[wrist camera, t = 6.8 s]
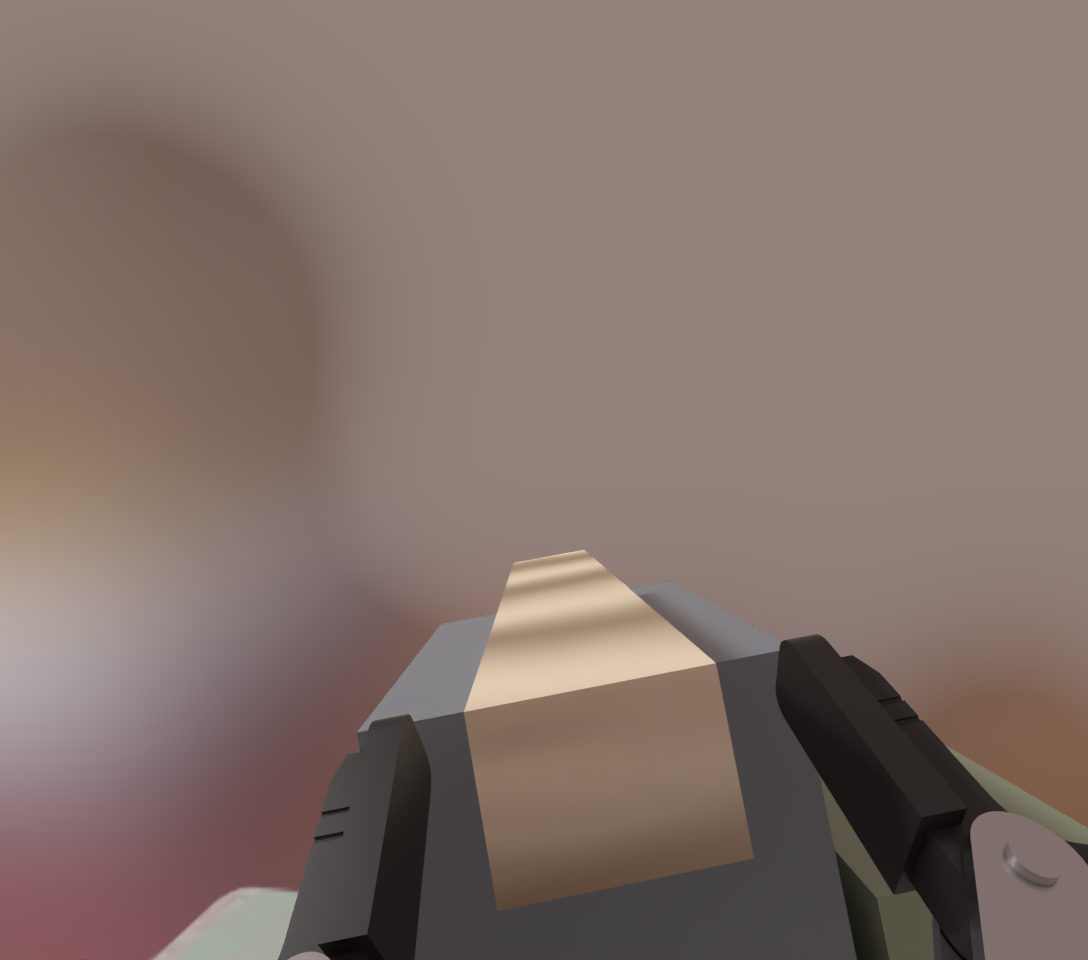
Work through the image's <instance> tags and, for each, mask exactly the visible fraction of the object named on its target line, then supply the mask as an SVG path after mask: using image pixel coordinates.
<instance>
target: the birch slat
mask: <svg viewBox="0 0 1088 960" xmlns="http://www.w3.org/2000/svg"><path fill="white" fill-rule="evenodd" d="M464 716H465V722H466V728H467V734H468V740H469V746H470V752H471V758H472V763H473V769H474V775H475V781H476V787H477V793H478V799H479V805H480V811H481V817H482V822H483V828H484V834H485V840H486V846H487V852H488V858H489V864H490V870H491V876H492V881H493V887H494V893H495V899H496V905H497V911H502V910H506V909H511V908H516V907H521V906H526V905H531V904H535V903H540V902H545V901H550V900H555V899H560V898H564V897H569V896H574V895H579V894H584V893H589V892H593V891H598V890H603V889H608V888H613V887H617V886H622V885H627V884H632V883H637V882H642V881H646V880H651V879H656V878H661V877H666V876H671V875H675V874H680V873H685V872H690V871H695V870H700V869H704V868H709V867H714V866H719V865H724V864H729V863H733V862H738V861H743V860H748V859H753V858H754V855H753V850H752V845H751V840H750V835H749V830H748V824H747V819H746V814H745V809H744V804H743V799H742V794H741V789H740V783H739V778H738V773H737V768H736V763H735V758H734V753H733V747H732V742H731V737H730V732H729V727H728V722H727V717H726V712H725V706H724V701H723V696H722V691H721V686H720V681H719V676H718V670H717V665H716V663H715V662H714V661H713V660H712V659H711V658H710V657H708V656H707V655H706V654H705V653H704V652H703V651H701V650H700V649H699V648H698V647H697V646H696V645H694V644H693V643H692V642H691V641H690V640H689V639H687V638H686V637H685V636H684V635H683V634H682V633H680V632H679V631H678V630H677V629H676V628H675V627H673V626H672V625H671V624H670V623H669V622H668V621H666V620H665V619H664V618H663V617H662V616H661V615H659V614H658V613H657V612H656V611H655V610H654V609H652V608H651V607H650V606H649V605H648V604H647V603H645V602H644V601H643V600H642V599H641V598H640V597H638V596H637V595H636V594H635V593H634V592H633V591H631V590H630V589H629V588H628V587H627V586H626V585H624V584H623V583H622V582H621V581H619V579H617V578H616V577H615V576H614V575H613V574H611V573H610V572H609V571H608V570H607V569H606V568H605V567H603V566H602V565H601V564H600V563H599V562H597V561H596V560H595V559H594V558H593V557H592V556H591V555H589V554H588V553H587V552H586V551H585V550H581V551H576V552H571V553H564V554H559V555H554V556H549V557H543V558H538V559H532V560H527V561H521V562H516V563H514V564H513V567H512V570H511V573H510V576H509V579H508V582H507V585H506V588H505V591H504V594H503V597H502V600H501V603H500V606H499V609H498V612H497V615H496V618H495V621H494V624H493V627H492V630H491V632H490V635H489V638H488V641H487V644H486V647H485V650H484V653H483V656H482V659H481V662H480V665H479V668H478V671H477V674H476V677H475V680H474V683H473V686H472V689H471V692H470V695H469V698H468V701H467V704H466V707H465V710H464Z"/></svg>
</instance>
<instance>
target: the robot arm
mask: <svg viewBox="0 0 1088 960" xmlns="http://www.w3.org/2000/svg"><path fill="white" fill-rule="evenodd" d="M775 690H776V697H777V701H778V705H779V708H780V710H781V712H782V715H783V717H784V718H785V720H786V722H787V723H788V725H789V727H790V728H791V730H792V732H793V733H794V735H795V736H796V738H797V740H798V741H799V743H800V744H801V746H802V748H803V749H804V751H805V752H806V754H807V756H808V757H809V759H810V761H811V762H812V764H813V765H814V767H815V769H816V770H817V772H818V773H819V775H820V777H821V778H822V780H823V782H824V783H825V785H826V786H827V788H828V790H829V791H830V793H831V794H832V796H833V798H834V799H835V801H836V803H837V804H838V806H839V807H840V809H841V811H842V812H843V814H844V815H845V817H846V819H847V820H848V822H849V823H850V825H851V827H852V828H853V830H854V832H855V833H856V835H857V836H858V838H859V840H860V841H861V843H862V844H863V846H864V848H865V849H866V851H867V853H868V854H869V856H870V857H871V859H872V861H873V862H874V864H875V865H876V867H877V869H878V870H879V872H880V874H881V875H882V877H883V878H884V880H885V882H886V883H887V885H888V886H889V888H890V890H891V891H892V893H893V895H897V894H901V893H906V892H911V891H917V893H918V894H919V896H920V897H921V899H922V900H923V902H924V903H925V905H926V906H927V908H928V909H929V911H930V912H931V914H932V930H933V948H934V960H1088V845H1087V844H1081V843H1075V842H1070V841H1065V840H1063V839H1062V838H1060V837H1059V836H1058V835H1056V834H1055V833H1054V832H1052V831H1051V830H1049V829H1047V828H1046V827H1044V826H1043V825H1041V824H1039V823H1037V822H1035V821H1033V820H1031V819H1028V818H1026V817H1023V816H1020V815H1017V814H1014V813H1009V812H1008V811H1006V810H1005V809H1004V808H1003V807H1002V806H1001V805H999V804H998V803H997V802H996V801H995V800H994V799H993V798H992V797H991V796H990V795H989V794H988V793H987V791H986V790H985V789H984V788H983V787H982V786H981V785H980V784H979V783H978V781H977V780H976V779H975V778H974V777H973V776H972V775H971V774H970V773H969V771H968V770H967V769H966V768H965V767H964V766H963V765H962V764H961V763H960V762H959V760H958V759H957V758H956V757H955V756H954V755H953V754H952V753H951V752H950V750H949V749H948V748H947V747H946V746H945V745H944V744H943V743H942V742H941V740H940V739H939V738H938V737H937V736H936V735H935V734H934V733H933V732H932V730H931V729H930V728H929V727H928V726H927V725H926V724H925V723H924V722H923V721H920V720H919V718H918V715H917V714H916V713H915V712H914V711H913V709H912V708H911V707H910V706H909V705H908V704H907V703H906V702H905V701H902V700H901V697H900V695H899V694H898V693H897V692H896V691H895V689H894V688H893V687H892V686H891V685H890V684H889V683H888V682H887V681H886V680H885V678H884V677H883V676H882V675H881V674H880V673H879V672H877V671H876V670H874V669H873V668H871V667H870V666H868V665H867V664H865V663H863V662H862V661H860V660H859V659H857V658H856V657H854V656H852V655H851V656H846V657H840V656H839V655H838V653H837V652H836V651H835V650H834V649H833V648H832V646H831V645H830V644H829V643H828V642H827V641H826V639H825V638H823V637H822V636H820V635H818V634H816V635H810V636H805V637H800V638H794V639H790V640H784V641H782V642H781V644H780V647H779V657H778V667H777V677H776V688H775ZM430 796H431V770H430V764H429V759H428V756H427V754H426V751H425V749H424V746H423V744H422V741H421V739H420V736H419V734H418V731H417V729H416V726H415V724H414V721H413V719H412V717H411V715H409V714H406V715H401V716H396V717H390V718H385V719H380V720H375V721H373V722H372V723H371V724H370V726H369V729H368V733H367V737H366V741H365V745H364V749H363V752H360V753H354V754H349V755H347V756H346V758H345V759H344V761H343V762H342V764H341V765H340V767H339V769H338V770H337V772H336V773H335V775H334V777H333V778H332V779H331V781H330V783H329V787H328V790H327V794H326V797H325V801H324V804H323V808H322V817H321V818H320V819H319V822H318V826H317V829H316V833H315V836H314V838H315V841H314V844H312V847H311V851H310V854H309V858H308V861H307V864H306V868H305V871H304V875H303V878H302V882H301V885H300V889H299V892H298V896H297V899H296V903H295V906H294V910H293V913H292V917H291V920H290V924H289V928H288V931H287V935H286V938H285V942H284V945H283V948H282V950H281V953H280V956H279V958H278V960H415V949H416V939H417V929H418V919H419V908H420V898H421V888H422V878H423V867H424V857H425V847H426V837H427V826H428V816H429V806H430Z"/></svg>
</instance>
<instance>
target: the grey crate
mask: <svg viewBox="0 0 1088 960" xmlns="http://www.w3.org/2000/svg"><path fill="white" fill-rule="evenodd" d="M630 590H631V591H633V592H634V593H635V594H636V595H637V596H638V597H640V598H641V599H642V600H643V601H644V602H645V603H647V604H648V605H649V606H650V607H651V608H652V609H654V610H655V611H656V612H657V613H658V614H659V615H661V616H662V617H663V618H664V619H665V620H666V621H668V622H669V623H670V624H671V625H672V626H673V627H675V628H676V629H677V630H678V631H679V632H680V633H682V634H683V635H684V636H685V637H686V638H687V639H689V640H690V641H691V642H692V643H693V644H694V645H696V646H697V647H698V648H699V649H700V650H701V651H703V652H704V653H705V654H706V655H707V656H708V657H710V658H711V659H712V660H713V661H714V662H715V663H716V665H717V670H718V676H719V681H720V686H721V691H722V696H723V701H724V706H725V712H726V717H727V722H728V727H729V732H730V737H731V742H732V747H733V753H734V758H735V763H736V768H737V773H738V778H739V783H740V789H741V794H742V799H743V804H744V809H745V814H746V819H747V824H748V830H749V835H750V840H751V845H752V850H753V855H754V858H753V859H748V860H743V861H738V862H733V863H729V864H724V865H719V866H714V867H709V868H704V869H700V870H695V871H690V872H685V873H680V874H675V875H671V876H666V877H661V878H656V879H651V880H646V881H642V882H637V883H632V884H627V885H622V886H617V887H613V888H608V889H603V890H598V891H593V892H589V893H584V894H579V895H574V896H569V897H564V898H560V899H555V900H550V901H545V902H540V903H535V904H531V905H526V906H521V907H516V908H511V909H506V910H502V911H497V905H496V899H495V893H494V887H493V881H492V876H491V870H490V864H489V858H488V852H487V846H486V840H485V834H484V828H483V822H482V817H481V811H480V805H479V799H478V793H477V787H476V781H475V775H474V769H473V763H472V758H471V752H470V746H469V740H468V734H467V728H466V722H465V716H464V710H465V707H466V704H467V701H468V698H469V695H470V692H471V689H472V686H473V683H474V680H475V677H476V674H477V671H478V668H479V665H480V662H481V659H482V656H483V653H484V650H485V647H486V644H487V641H488V638H489V635H490V632H491V630H492V627H493V624H494V621H495V618H496V615H497V614H494V615H488V616H483V617H478V618H472V619H467V620H462V621H456V622H451V623H445V624H441V625H440V626H439V628H438V629H437V630H436V632H435V633H434V634H433V635H432V637H431V638H430V639H429V641H428V642H427V643H426V644H425V646H424V647H423V648H422V650H421V651H420V652H419V653H418V655H417V656H416V657H415V659H414V660H413V662H411V664H410V665H409V666H408V668H407V669H406V670H405V671H404V673H403V674H402V675H401V677H400V678H399V679H398V680H397V682H396V683H395V684H394V686H393V687H392V688H391V689H390V691H389V692H388V693H387V695H386V696H385V697H384V698H383V700H382V701H381V703H380V704H379V705H378V706H377V708H376V709H375V710H374V712H373V713H372V714H371V715H370V716H369V718H368V719H367V720H366V722H365V723H364V724H363V726H362V727H361V728H360V729H359V731H358V732H357V735H358V741H359V748H360V752H363V749H364V745H365V741H366V737H367V733H368V729H369V726H370V724H371V723H372V722H373V721H375V720H380V719H385V718H390V717H396V716H401V715H406V714H409V715H411V717H412V719H413V721H414V724H415V726H416V729H417V731H418V734H419V736H420V739H421V741H422V744H423V746H424V749H425V751H426V754H427V756H428V759H429V764H430V770H431V796H430V806H429V816H428V826H427V837H426V847H425V857H424V867H423V878H422V888H421V898H420V908H419V919H418V929H417V939H416V949H415V960H857V958H856V953H855V948H854V943H853V938H852V933H851V928H850V923H849V918H848V913H847V908H846V903H845V898H844V894H843V889H842V884H841V879H840V874H839V869H838V864H837V859H836V854H835V849H834V844H833V839H832V834H831V829H830V824H829V820H828V815H827V810H826V805H825V800H824V795H823V790H822V785H821V780H820V775H819V773H818V772H817V770H816V769H815V767H814V765H813V764H812V762H811V761H810V759H809V757H808V756H807V754H806V752H805V751H804V749H803V748H802V746H801V744H800V743H799V741H798V740H797V738H796V736H795V735H794V733H793V732H792V730H791V728H790V727H789V725H788V723H787V722H786V720H785V718H784V717H783V715H782V712H781V710H780V708H779V705H778V701H777V697H776V690H775V688H776V677H777V667H778V657H779V647H780V644H781V642H782V641H780V640H778V639H776V638H774V637H773V636H771V635H769V634H767V633H766V632H764V631H762V630H760V629H758V628H756V627H754V626H753V625H751V624H749V623H747V622H745V621H743V620H741V619H740V618H737V617H736V616H734V615H732V614H731V613H729V612H727V611H725V610H723V609H721V608H719V607H718V606H716V605H714V604H712V603H710V602H708V601H707V600H705V599H703V598H701V597H699V596H697V595H695V594H694V593H692V592H690V591H688V590H686V589H685V588H683V587H681V586H679V585H677V584H675V583H673V582H672V581H669V582H664V583H658V584H653V585H648V586H642V587H637V588H632V589H630Z"/></svg>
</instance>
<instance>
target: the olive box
mask: <svg viewBox="0 0 1088 960" xmlns="http://www.w3.org/2000/svg"><path fill="white" fill-rule="evenodd" d="M946 747H947V746H946ZM947 748H948V749H949V750H950V752H951V753H952V754H953V755H954V756H955V757H956V758H957V759H958V760H959V762H960V763H961V764H962V765H963V766H964V767H965V768H966V769H967V770H968V771H969V773H970V774H971V775H972V776H973V777H974V778H975V779H976V780H977V781H978V783H979V784H980V785H981V786H982V787H983V788H984V789H985V790H986V791H987V793H988V794H989V795H990V796H991V797H992V798H993V799H994V800H995V801H996V802H997V803H998V804H999V805H1001V806H1002V807H1003V808H1004V809H1005V810H1006V811H1008V812H1009V813H1014V814H1017V815H1020V816H1023V817H1026V818H1028V819H1031V820H1033V821H1035V822H1037V823H1039V824H1041V825H1043V826H1044V827H1046V828H1047V829H1049V830H1051V831H1052V832H1054V833H1055V834H1056V835H1058V836H1059V837H1060V838H1062V839H1063V840H1065V841H1070V842H1075V843H1081V844H1087V845H1088V828H1087V827H1085V826H1083V825H1081V824H1080V823H1078V822H1076V821H1075V820H1073V819H1071V818H1069V817H1068V816H1066V815H1064V814H1063V813H1060V812H1059V811H1057V810H1056V809H1054V808H1052V807H1050V806H1048V805H1047V804H1045V803H1044V802H1042V801H1040V800H1038V799H1037V798H1035V797H1033V796H1032V795H1030V794H1028V793H1026V792H1025V791H1023V790H1021V789H1019V788H1018V787H1016V786H1014V785H1013V784H1011V783H1009V782H1007V781H1006V780H1004V779H1002V778H1001V777H999V776H997V775H995V774H994V773H992V772H990V771H988V770H987V769H985V768H983V767H981V766H980V765H978V764H976V763H974V762H973V761H971V760H970V759H967V758H966V757H964V756H963V755H961V754H959V753H957V752H956V751H954V750H952V749H950V748H949V747H947ZM820 780H821V785H822V790H823V795H824V800H825V805H826V810H827V815H828V820H829V824H830V829H831V834H832V839H833V844H834V849H835V854H836V859H837V864H838V869H839V874H840V879H841V884H842V889H843V894H844V898H845V903H846V908H847V913H848V918H849V923H850V928H851V933H852V938H853V943H854V948H855V953H856V958H857V960H934V948H933V930H932V914H931V912H930V911H929V909H928V908H927V906H926V905H925V903H924V902H923V900H922V899H921V897H920V896H919V894H918V893H917V891H911V892H906V893H901V894H897V895H893V893H892V891H891V890H890V888H889V886H888V885H887V883H886V882H885V880H884V878H883V877H882V875H881V874H880V872H879V870H878V869H877V867H876V865H875V864H874V862H873V861H872V859H871V857H870V856H869V854H868V853H867V851H866V849H865V848H864V846H863V844H862V843H861V841H860V840H859V838H858V836H857V835H856V833H855V832H854V830H853V828H852V827H851V825H850V823H849V822H848V820H847V819H846V817H845V815H844V814H843V812H842V811H841V809H840V807H839V806H838V804H837V803H836V801H835V799H834V798H833V796H832V794H831V793H830V791H829V790H828V788H827V786H826V785H825V783H824V782H823V780H822V778H821V777H820Z"/></svg>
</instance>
